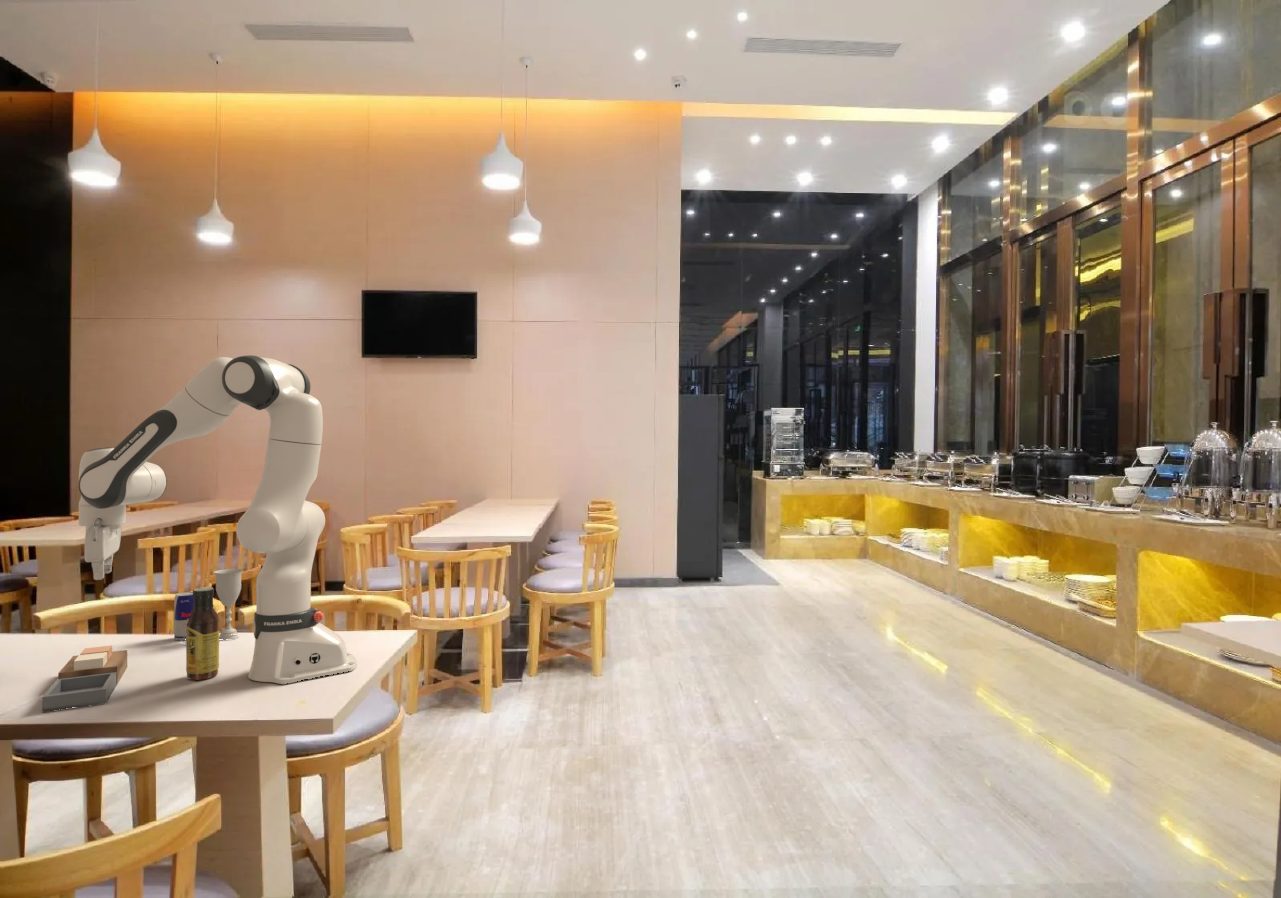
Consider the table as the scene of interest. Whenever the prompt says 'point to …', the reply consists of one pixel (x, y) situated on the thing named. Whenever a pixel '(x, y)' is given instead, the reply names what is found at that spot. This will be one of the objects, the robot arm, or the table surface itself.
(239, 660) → the table surface
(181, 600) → the energy drink
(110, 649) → the peach rectangular prism
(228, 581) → the chalice
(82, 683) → the charcoal tray
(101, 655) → the cream block
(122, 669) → the walnut board
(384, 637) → the table surface
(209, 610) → the sauce bottle
